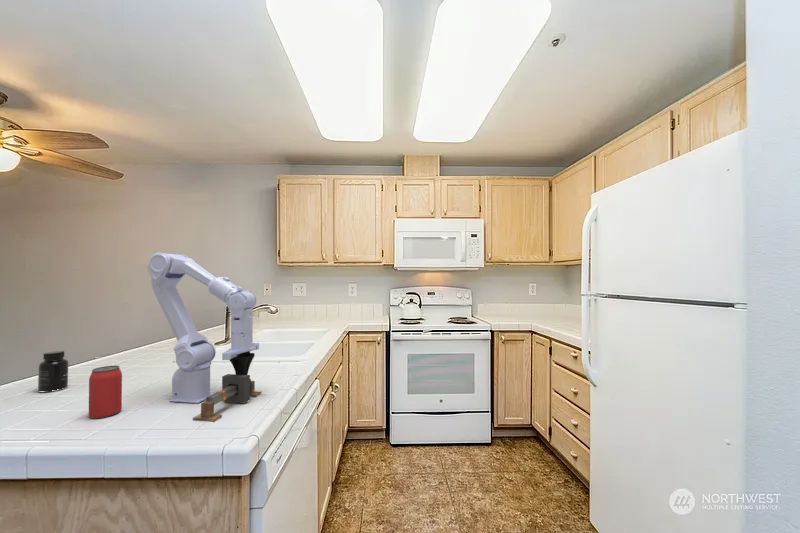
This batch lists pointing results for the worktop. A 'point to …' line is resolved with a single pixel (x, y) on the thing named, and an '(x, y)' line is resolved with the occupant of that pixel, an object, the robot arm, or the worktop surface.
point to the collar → (243, 387)
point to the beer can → (105, 391)
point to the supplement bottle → (53, 372)
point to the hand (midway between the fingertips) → (241, 379)
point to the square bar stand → (217, 397)
